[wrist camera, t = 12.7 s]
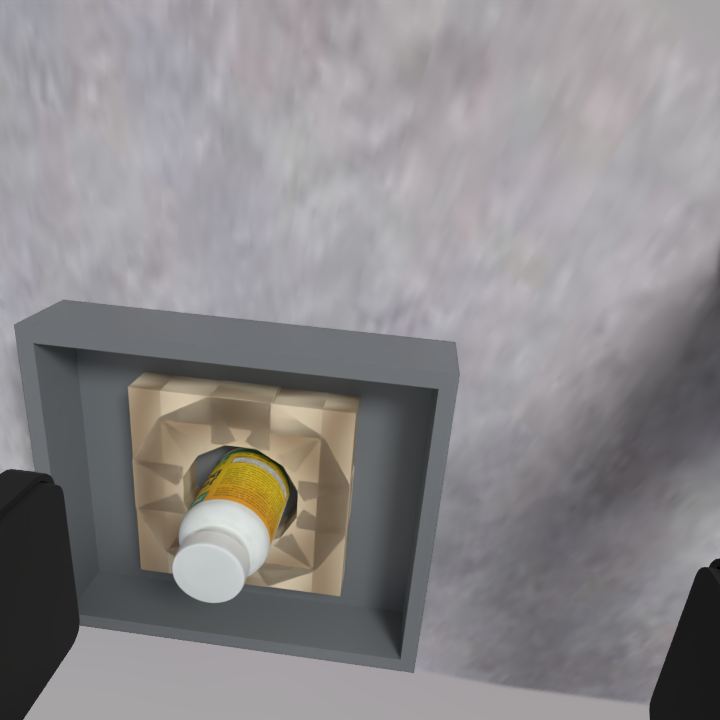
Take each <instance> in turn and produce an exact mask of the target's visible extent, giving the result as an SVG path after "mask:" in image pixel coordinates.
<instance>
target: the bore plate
mask: <svg viewBox="0 0 720 720" xmlns="http://www.w3.org/2000/svg"><path fill="white" fill-rule="evenodd" d="M128 395H129V409H130V423H131V437H132V451H133V460H132V461H133V475H134V489H135V502H136V509H137V520H138V534H139V548H140V562H141V569H142V570H149V571H157V572H164V573H172V574H173V572H172V564H173V560H174V558H175V555H176V553H177V551H178V550H179V547H180V544H179V530H180V525H181V523H182V520H183V519H184V517H185V515H186V513H187V512H188V510H189V508H190V507H191V505H192V503H193V502H194V500H195V498H196V497H197V495H198V494H199V492H200V491H201V489H200V487H199V486H198V484H197V477H196V457H197V456H198V455H201V454H203V453H206V452H208V451H211V450H214V449H216V448H219V447H221V446H224V445H227V446H236V447H244V448H252V449H257V450H259V451H260V452H262V453H263V454H265V455H266V456H268V457H270V458H271V459H273V460H274V461H276V462H277V463H279V464H281V465H282V466H283V467H284V468H285V470H286V472H287V474H288V475H289V477H290V479H291V480H292V482H293V484H294V486H295V487H296V489H297V491H298V502H297V505H296V507H295V508H294V509H293V510H292V512H291V513H290V514H289V515H288V516H286V517H283V518H281V520H280V523H279V525H278V528H277V531H276V534H275V536H274V539H273V542H272V545H271V548H270V551H269V553H268V556H267V558H266V560H265V562H264V563H263V565H262V566H261V567H260V568H259V569H258V570H257V571H256V572H255V573H253V574H252V575H250V576H248V577H247V579H246V581H245V583H244V584H249V585H256V586H263V587H266V586H267V587H275V588H282V589H290V590H297V591H304V592H312V593H319V594H327V595H334V596H340V595H341V589H342V584H343V578H344V572H345V561H346V550H347V539H348V527H349V518H350V513H351V501H352V490H353V479H354V467H355V466H354V459H355V447H356V436H357V424H358V413H359V401H360V396H352V395H343V394H334V393H326V392H317V391H308V390H299V389H291V388H282V387H279V386H271V385H262V384H253V383H244V382H236V381H227V380H212V379H203V378H195V377H186V376H177V375H168V374H160V373H151V372H144V373H143V374H142V375H141V376H140V377H138V378H137V379H136V380H135V381H134V382H133V383H132V384H131V385H130V386H128Z"/></svg>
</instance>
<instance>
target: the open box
mask: <svg viewBox="0 0 720 720" xmlns="http://www.w3.org/2000/svg"><path fill="white" fill-rule="evenodd" d="M14 328H15V335H16V342H17V349H18V356H19V363H20V370H21V377H22V383H23V390H24V397H25V404H26V411H27V418H28V425H29V432H30V439H31V446H32V453H33V460H34V467H35V472H39V473H46V474H48V475H50V476H51V477H52V478H53V480H54V484H55V485H59V486H61V488H62V489H63V493H64V500H65V508H66V515H67V523H68V531H69V539H70V547H71V555H72V563H73V570H74V578H75V586H76V594H77V602H78V610H79V618H80V624H79V625H81V626H88V627H95V628H102V629H109V630H116V631H123V632H130V633H137V634H144V635H151V636H158V637H165V638H172V639H179V640H187V641H194V642H200V643H207V644H214V645H221V646H228V647H236V648H242V649H249V650H256V651H263V652H270V653H277V654H285V655H292V656H299V657H306V658H313V659H320V660H327V661H334V662H341V663H348V664H355V665H362V666H369V667H376V668H383V669H390V670H397V671H405V672H411V673H414V668H415V662H416V655H417V649H418V642H419V636H420V629H421V623H422V616H423V610H424V603H425V597H426V590H427V584H428V577H429V571H430V564H431V558H432V551H433V545H434V538H435V532H436V525H437V519H438V512H439V506H440V499H441V493H442V486H443V480H444V473H445V467H446V460H447V454H448V447H449V441H450V434H451V428H452V421H453V415H454V408H455V402H456V395H457V389H458V382H459V376H460V372H459V365H458V358H457V350H456V343H455V342H448V341H438V340H429V339H420V338H411V337H401V336H392V335H383V334H374V333H364V332H355V331H346V330H337V329H327V328H318V327H309V326H299V325H290V324H281V323H272V322H262V321H253V320H244V319H235V318H225V317H216V316H207V315H198V314H188V313H179V312H170V311H160V310H151V309H142V308H133V307H123V306H114V305H105V304H96V303H86V302H77V301H68V300H62V301H60V302H58V303H56V304H54V305H52V306H50V307H48V308H46V309H44V310H42V311H40V312H38V313H36V314H34V315H32V316H30V317H28V318H26V319H24V320H22V321H20V322H18V323H16V324H14ZM144 372H151V373H160V374H168V375H177V376H186V377H195V378H203V379H212V380H227V381H236V382H244V383H253V384H262V385H271V386H279V387H282V388H291V389H299V390H308V391H317V392H326V393H334V394H343V395H352V396H360V401H359V413H358V424H357V436H356V447H355V459H354V466H355V467H354V479H353V490H352V501H351V513H350V518H349V527H348V539H347V550H346V561H345V572H344V578H343V584H342V589H341V595H340V596H334V595H327V594H319V593H312V592H304V591H297V590H290V589H282V588H275V587H267V586H266V587H263V586H256V585H249V584H244V585H243V588H242V589H241V591H240V592H239V593H238V594H237V595H236V596H235V597H234V598H232V599H230V600H228V601H225V602H220V603H208V602H203V601H200V600H197V599H195V598H193V597H191V596H189V595H188V594H186V593H185V592H184V591H183V590H182V589H181V588H180V587H179V586H178V584H177V583H176V581H175V579H174V576H173V574H172V573H164V572H157V571H149V570H142V569H141V562H140V548H139V534H138V520H137V509H136V502H135V489H134V475H133V461H132V460H133V451H132V437H131V423H130V409H129V395H128V386H130V385H131V384H132V383H133V382H134V381H135V380H136V379H137V378H138V377H140V376H141V375H142V374H143V373H144ZM236 448H239V447H236V446H227V445H224V446H221V447H219V448H216V449H214V450H211V451H208V452H206V453H203V454H201V455H198V456H197V457H196V477H197V484H198V486H199V487H200V489H202V487H203V486H204V484H205V483H206V481H207V479H208V477H209V476H210V474H211V472H212V471H213V469H214V467H215V466H216V464H217V463H218V461H219V460H220V458H221V457H222V456H223V455H224V454H226V453H227V452H229V451H231V450H233V449H236ZM297 502H298V491H297V489H296V487H295V486H294V484H293V482H292V480H291V492H290V495H289V498H288V501H287V503H286V506H285V509H284V512H283V515H282V517H281V518H283V517H286V516H288V515H289V514H290V513H291V512H292V510H293V509H294V508H295V507H296V505H297Z"/></svg>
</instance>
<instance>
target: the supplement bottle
mask: <svg viewBox="0 0 720 720" xmlns="http://www.w3.org/2000/svg"><path fill="white" fill-rule="evenodd" d="M290 492H291V479H290V477H289V475H288V474H287V472H286V470H285V468H284V467H283V466H282V465H281V464H279V463H277V462H276V461H274V460H273V459H271V458H270V457H268V456H266V455H265V454H263V453H262V452H260V451H259V450H257V449H252V448H244V447H239V448H236V449H233V450H231V451H229V452H227V453H226V454H224V455H223V456H222V457H221V458H220V460H219V461H218V463H217V464H216V466H215V467H214V469H213V471H212V472H211V474H210V476H209V477H208V479H207V481H206V483H205V484H204V486H203V487H202V489H201V491H200V492H199V494H198V495H197V497H196V498H195V500H194V502H193V503H192V505H191V507H190V508H189V510H188V512H187V513H186V515H185V517H184V519H183V520H182V523H181V525H180V530H179V544H180V547H179V550H178V551H177V553H176V555H175V558H174V560H173V564H172V572H173V576H174V579H175V581H176V583H177V584H178V586H179V587H180V588H181V589H182V590H183V591H184V592H185V593H186V594H188V595H189V596H191V597H193V598H195V599H197V600H200V601H203V602H208V603H220V602H225V601H228V600H230V599H232V598H234V597H235V596H236V595H237V594H238V593H239V592H240V591H241V589H242V588H243V585H244V583H245V581H246V579H247V577H248V576H250V575H252V574H253V573H255V572H256V571H257V570H258V569H259V568H260V567H261V566H262V565H263V563H264V562H265V560H266V558H267V556H268V553H269V551H270V548H271V545H272V542H273V539H274V536H275V534H276V531H277V528H278V525H279V523H280V520H281V517H282V515H283V512H284V509H285V506H286V503H287V501H288V498H289V495H290Z"/></svg>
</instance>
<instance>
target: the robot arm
mask: <svg viewBox="0 0 720 720" xmlns="http://www.w3.org/2000/svg"><path fill="white" fill-rule="evenodd" d="M79 624H80V618H79V610H78V602H77V594H76V586H75V578H74V570H73V563H72V555H71V547H70V539H69V531H68V523H67V515H66V508H65V500H64V493H63V489H62V488H61V486H59V485H55V484H54V480H53V478H52V477H51V476H50V475H48V474H46V473H39V472H31V471H23V470H15V469H10V470H6V471H4V472H3V473H1V474H0V720H23V719H24V717H25V716H26V714H27V713H28V711H29V710H30V709H31V707H32V705H33V704H34V702H35V701H36V700H37V698H38V697H39V695H40V694H41V692H42V691H43V689H44V688H45V686H46V685H47V683H48V682H49V680H50V679H51V677H52V676H53V674H54V673H55V671H56V670H57V668H58V667H59V665H60V663H61V662H62V661H63V659H64V658H65V656H66V655H67V653H68V652H69V650H70V649H71V647H72V645H73V644H74V642H75V639H76V637H77V634H78V630H79ZM649 711H650V720H720V559H715V560H714V561H713V562H712V563H711V564H710V566H709V568H708V567H703V568H701V569H699V570H698V572H697V574H696V576H695V579H694V582H693V585H692V588H691V590H690V593H689V596H688V599H687V601H686V604H685V607H684V610H683V612H682V615H681V618H680V621H679V623H678V626H677V629H676V632H675V634H674V637H673V640H672V643H671V646H670V648H669V651H668V654H667V657H666V659H665V662H664V665H663V668H662V670H661V673H660V676H659V679H658V681H657V684H656V687H655V690H654V692H653V695H652V698H651V702H650V710H649Z"/></svg>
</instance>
